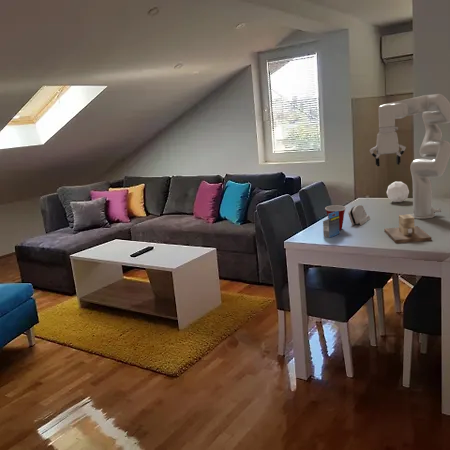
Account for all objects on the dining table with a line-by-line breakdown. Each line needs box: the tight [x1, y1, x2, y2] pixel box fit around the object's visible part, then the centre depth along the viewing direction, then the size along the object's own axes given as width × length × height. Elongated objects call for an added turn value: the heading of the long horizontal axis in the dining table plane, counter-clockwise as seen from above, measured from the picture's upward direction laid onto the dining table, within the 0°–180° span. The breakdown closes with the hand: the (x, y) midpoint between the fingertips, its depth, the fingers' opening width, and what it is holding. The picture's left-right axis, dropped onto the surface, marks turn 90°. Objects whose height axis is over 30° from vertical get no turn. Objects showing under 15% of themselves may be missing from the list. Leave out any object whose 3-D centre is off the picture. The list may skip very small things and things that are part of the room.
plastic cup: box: [324, 204, 347, 231], centre depth 260 cm, size 11×11×12 cm
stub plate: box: [384, 225, 432, 244], centre depth 235 cm, size 16×22×5 cm
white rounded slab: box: [348, 204, 371, 226], centre depth 272 cm, size 17×5×10 cm, turn 147°
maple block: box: [398, 213, 415, 235], centre depth 234 cm, size 5×8×8 cm, turn 175°
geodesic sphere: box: [386, 180, 410, 203], centre depth 311 cm, size 14×14×14 cm
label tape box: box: [322, 211, 340, 239], centre depth 248 cm, size 9×4×12 cm, turn 133°
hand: (388, 165), depth 245 cm, fingers open, 9 cm apart
